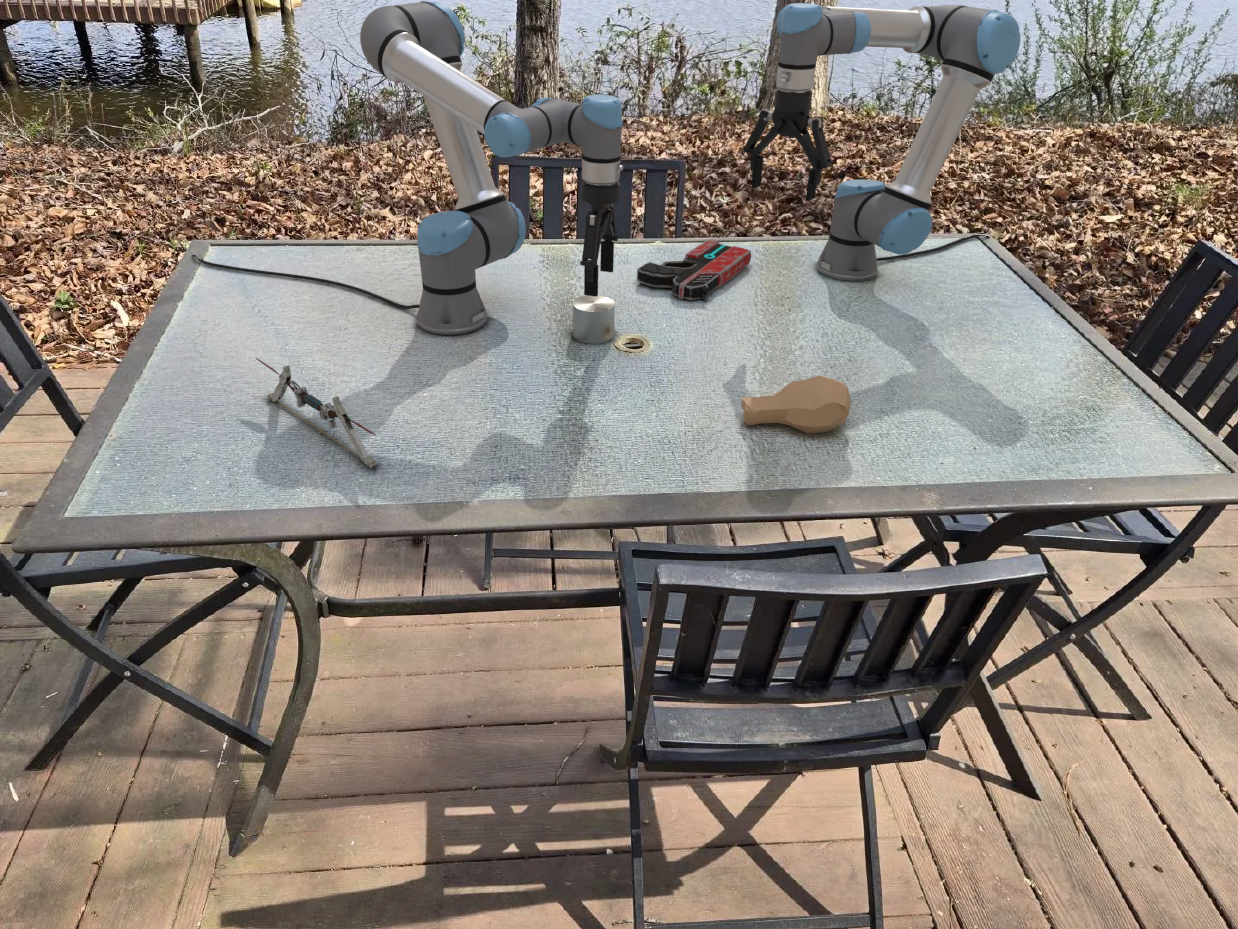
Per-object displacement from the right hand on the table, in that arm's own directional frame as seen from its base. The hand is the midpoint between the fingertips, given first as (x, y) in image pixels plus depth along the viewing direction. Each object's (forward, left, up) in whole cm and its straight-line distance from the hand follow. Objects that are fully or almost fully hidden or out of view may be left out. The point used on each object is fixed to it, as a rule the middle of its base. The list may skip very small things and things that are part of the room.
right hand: (782, 193), depth 191 cm
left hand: (+40, -17, -15) cm, 46 cm away
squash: (+40, +33, -28) cm, 59 cm away
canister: (+39, -20, -28) cm, 52 cm away
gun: (-5, -25, -28) cm, 38 cm away
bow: (+102, -27, -28) cm, 109 cm away
